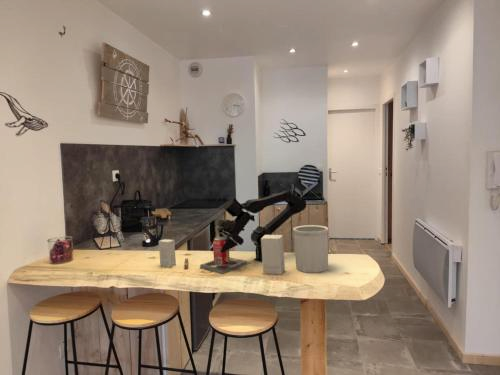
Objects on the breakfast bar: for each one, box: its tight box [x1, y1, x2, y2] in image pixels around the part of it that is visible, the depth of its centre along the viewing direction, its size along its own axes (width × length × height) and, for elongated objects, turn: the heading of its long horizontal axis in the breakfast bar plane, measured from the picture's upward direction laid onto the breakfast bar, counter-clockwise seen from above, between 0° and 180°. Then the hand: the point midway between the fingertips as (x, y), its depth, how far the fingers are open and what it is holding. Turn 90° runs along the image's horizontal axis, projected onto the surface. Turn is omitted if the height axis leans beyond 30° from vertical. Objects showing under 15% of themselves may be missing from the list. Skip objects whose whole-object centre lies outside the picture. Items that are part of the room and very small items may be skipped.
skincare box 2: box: [261, 234, 286, 276], centre depth 153 cm, size 8×7×16 cm
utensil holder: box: [292, 224, 329, 274], centre depth 157 cm, size 15×15×18 cm
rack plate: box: [199, 256, 248, 275], centre depth 164 cm, size 14×16×2 cm
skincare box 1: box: [158, 238, 177, 268], centre depth 168 cm, size 6×4×12 cm
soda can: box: [212, 236, 230, 267], centre depth 162 cm, size 7×7×12 cm
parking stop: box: [183, 257, 189, 270], centre depth 167 cm, size 10×2×2 cm, turn 8°
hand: (218, 250), depth 162 cm, fingers closed on soda can, 6 cm apart
